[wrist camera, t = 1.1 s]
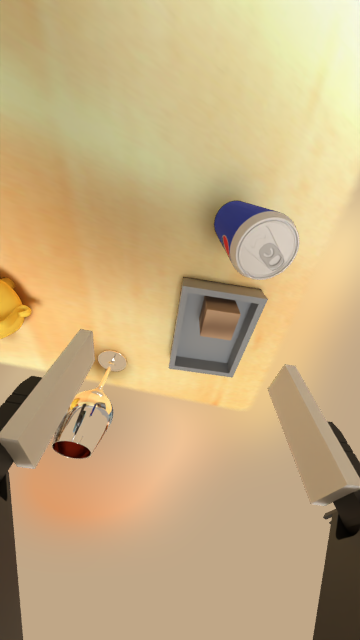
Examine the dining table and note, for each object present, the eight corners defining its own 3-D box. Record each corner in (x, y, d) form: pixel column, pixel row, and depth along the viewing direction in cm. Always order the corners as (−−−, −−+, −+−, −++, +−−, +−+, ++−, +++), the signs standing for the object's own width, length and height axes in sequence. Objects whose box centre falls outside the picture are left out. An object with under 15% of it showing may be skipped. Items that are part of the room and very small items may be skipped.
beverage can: (206, 222, 28) (218, 251, 15) (236, 190, 25) (279, 193, 13) (229, 249, 29) (257, 294, 17) (259, 221, 27) (316, 250, 15)
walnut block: (205, 293, 33) (207, 309, 29) (234, 298, 33) (240, 314, 29) (199, 318, 36) (200, 335, 31) (226, 322, 36) (230, 340, 32)
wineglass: (135, 371, 46) (108, 461, 31) (103, 374, 47) (61, 462, 32) (123, 345, 41) (84, 434, 26) (87, 349, 42) (31, 437, 27)
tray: (183, 276, 32) (182, 285, 29) (260, 289, 33) (267, 299, 30) (170, 356, 42) (168, 368, 39) (229, 364, 43) (232, 377, 40)
